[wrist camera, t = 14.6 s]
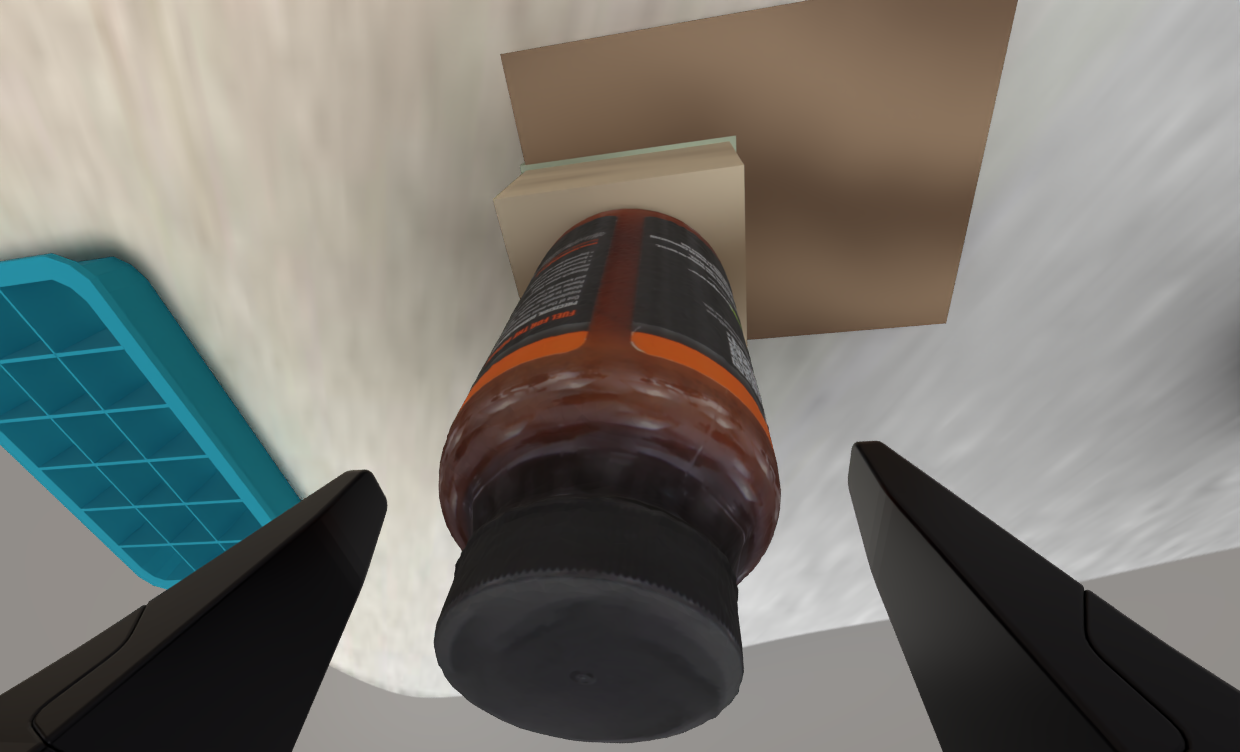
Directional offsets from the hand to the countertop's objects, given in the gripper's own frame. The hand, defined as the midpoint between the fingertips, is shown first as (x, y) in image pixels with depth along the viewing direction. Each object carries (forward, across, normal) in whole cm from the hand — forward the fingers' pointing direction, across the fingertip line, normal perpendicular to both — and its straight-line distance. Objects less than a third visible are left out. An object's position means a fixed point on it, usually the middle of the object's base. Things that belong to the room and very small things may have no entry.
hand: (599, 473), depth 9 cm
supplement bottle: (+8, 0, 0) cm, 8 cm away
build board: (+12, -4, -2) cm, 13 cm away
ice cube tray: (+13, +26, +7) cm, 30 cm away
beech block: (+12, 0, 0) cm, 12 cm away
